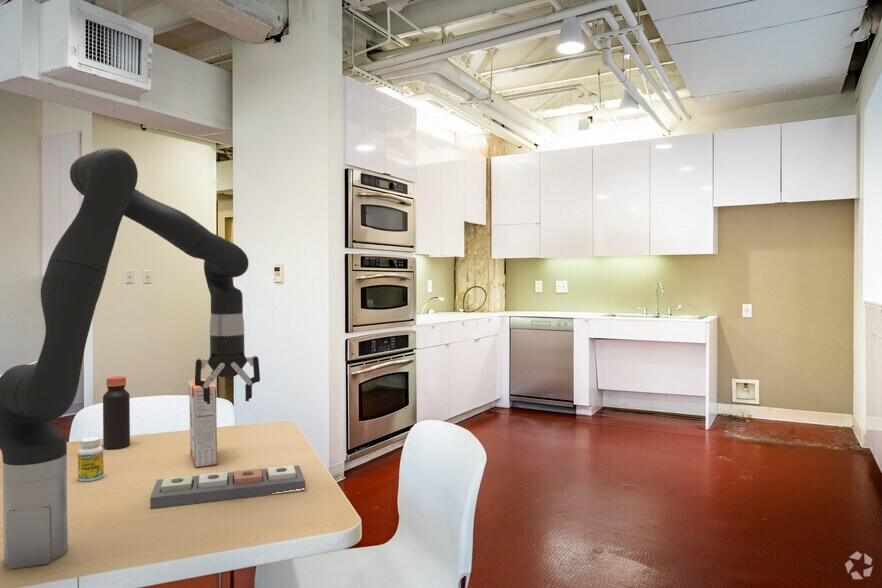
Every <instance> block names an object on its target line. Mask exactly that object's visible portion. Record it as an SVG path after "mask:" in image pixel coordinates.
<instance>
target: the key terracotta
mask: <svg viewBox="0 0 882 588" xmlns="http://www.w3.org/2000/svg"><path fill="white" fill-rule="evenodd" d="M261 469H262V468H253V469H252V468H251V469H244V470H243V469H241V470H234V471H233V472H234V485H235V484H244V483H253V482H262V473H261Z"/></svg>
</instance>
